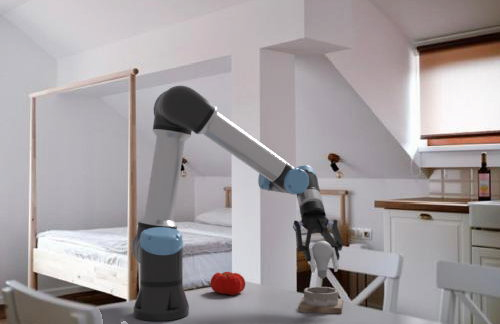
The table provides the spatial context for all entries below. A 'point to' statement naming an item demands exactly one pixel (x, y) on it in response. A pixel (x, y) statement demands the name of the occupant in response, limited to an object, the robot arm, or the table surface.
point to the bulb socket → (321, 300)
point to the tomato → (227, 283)
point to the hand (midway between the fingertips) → (325, 269)
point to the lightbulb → (322, 257)
